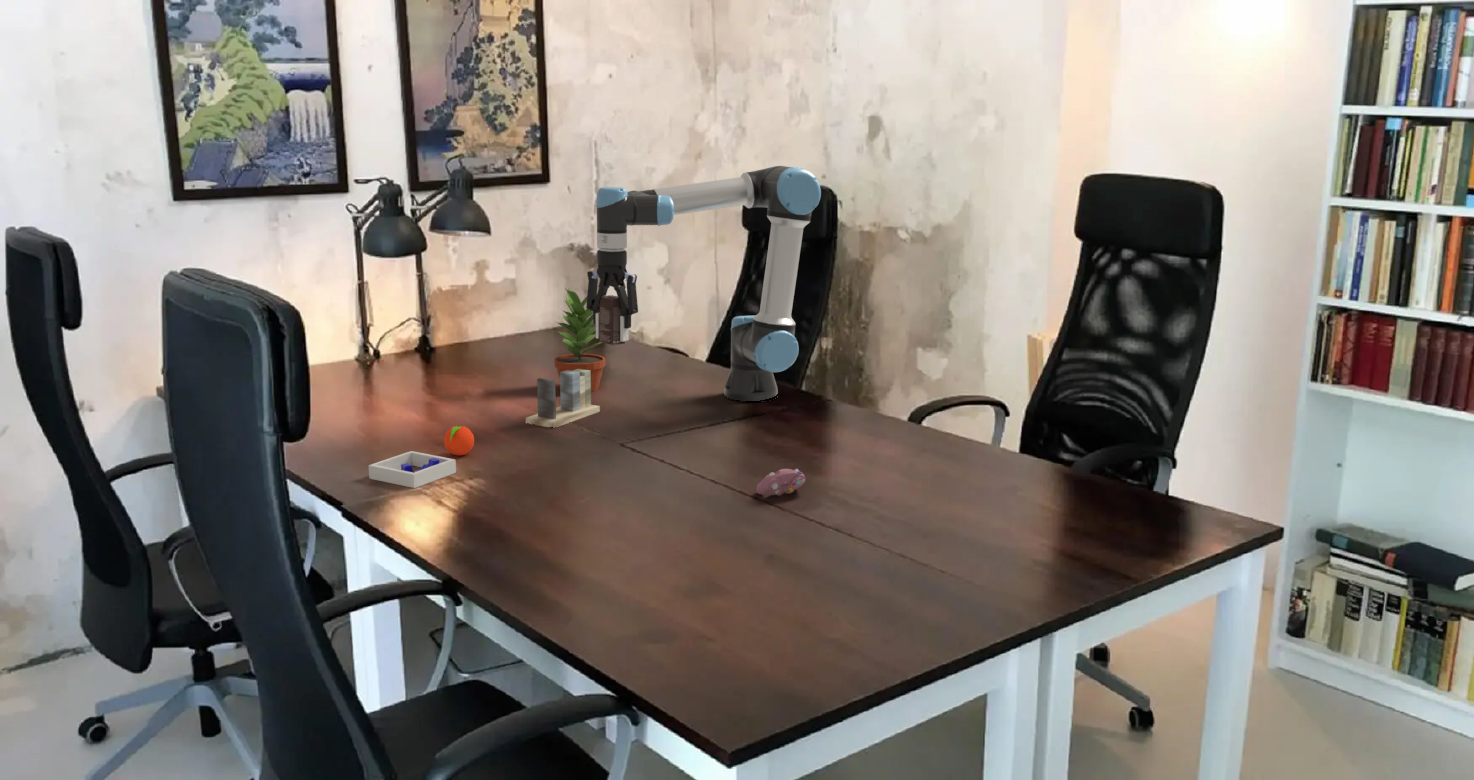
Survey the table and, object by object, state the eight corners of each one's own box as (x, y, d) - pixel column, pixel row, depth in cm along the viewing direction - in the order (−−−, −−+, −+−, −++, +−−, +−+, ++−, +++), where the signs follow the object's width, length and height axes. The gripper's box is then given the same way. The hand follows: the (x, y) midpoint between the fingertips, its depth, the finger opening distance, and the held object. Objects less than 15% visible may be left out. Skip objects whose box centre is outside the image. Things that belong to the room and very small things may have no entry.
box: (626, 344, 307) (626, 297, 304) (611, 345, 304) (611, 298, 301) (612, 340, 311) (612, 294, 308) (598, 342, 308) (598, 295, 305)
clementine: (465, 461, 274) (464, 431, 272) (437, 459, 275) (435, 429, 273) (479, 451, 281) (478, 422, 280) (452, 449, 282) (450, 420, 281)
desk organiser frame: (456, 472, 265) (455, 459, 264) (414, 488, 254) (413, 474, 253) (411, 463, 271) (411, 450, 270) (369, 478, 260) (368, 465, 259)
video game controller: (762, 505, 251) (770, 480, 247) (753, 490, 254) (761, 465, 250) (802, 498, 256) (811, 474, 252) (793, 484, 259) (801, 460, 255)
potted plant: (617, 387, 348) (616, 284, 341) (583, 397, 335) (582, 290, 328) (577, 380, 355) (576, 279, 349) (543, 390, 343) (541, 286, 336)
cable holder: (432, 473, 265) (432, 456, 264) (440, 477, 262) (439, 460, 261) (398, 480, 260) (397, 462, 259) (405, 484, 257) (404, 466, 256)
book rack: (599, 411, 320) (599, 369, 317) (554, 428, 303) (553, 383, 300) (572, 407, 324) (571, 365, 321) (525, 423, 307) (524, 379, 304)
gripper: (570, 248, 303) (572, 337, 308) (636, 253, 294) (636, 345, 299) (588, 245, 310) (588, 333, 315) (653, 250, 301) (652, 340, 306)
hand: (612, 339), depth 307 cm, fingers closed on box, 7 cm apart
